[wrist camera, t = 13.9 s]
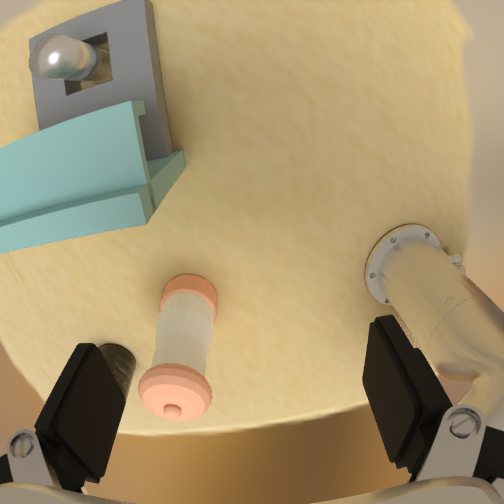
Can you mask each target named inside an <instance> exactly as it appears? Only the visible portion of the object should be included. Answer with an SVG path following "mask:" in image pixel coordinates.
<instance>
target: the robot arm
mask: <svg viewBox="0 0 504 504" xmlns="http://www.w3.org/2000/svg"><path fill="white" fill-rule="evenodd" d="M460 262H461V255H460V254H459V253H457V254H452V255H447V254H446V253H445V252H444V251H443V250H442V246H441V243H440V241H439V239H438V237H437V236H436V235H435V234H434V233H433V232H432V231H431V230H429V229H428V228H426V227H424V226H421V225H415V224H410V225H404V226H401V227H398V228H396V229H394V230H392V231H391V232H389V233H388V234H387V235H385V236H384V237H383V238H382V239H381V240H380V241H379V242H378V243H377V244H376V246H375V247H374V249H373V250H372V252H371V254H370V256H369V258H368V261H367V265H366V270H365V280H366V285H367V288H368V290H369V291H370V293H371V295H372V296H373V297H374V298H375V299H376V300H377V301H378V302H380V303H382V304H384V305H388V306H393V307H394V308H395V310H396V311H397V312H398V314H399V315H400V317H401V318H402V320H403V321H404V323H405V324H406V326H407V327H408V329H409V330H410V332H411V333H412V335H413V336H414V338H415V339H416V341H417V342H418V344H419V345H420V347H421V348H422V350H423V351H424V353H425V355H426V356H427V358H428V359H429V361H430V362H431V364H432V366H433V367H434V368H435V370H436V371H437V372H438V373H439V374H440V375H441V376H443V377H445V378H446V379H449V380H452V381H457V382H468V383H473V386H472V388H471V390H470V391H469V392H468V393H467V395H466V396H465V397H464V398H463V399H462V401H461V402H460V403H459V404H458V405H455V406H453V405H452V403H451V402H450V400H449V398H448V396H447V394H446V393H445V391H444V389H443V387H442V385H441V384H440V382H439V380H438V378H437V377H436V375H435V373H434V372H433V370H432V368H431V366H430V365H429V363H428V361H427V360H426V358H425V356H424V355H423V353H422V352H421V350H420V349H418V348H413V346H412V345H411V343H410V341H409V340H408V338H407V337H406V335H405V333H404V332H403V330H402V328H401V327H400V325H399V323H398V322H397V320H396V319H395V317H394V316H393V315H386V316H381V317H376V318H375V321H374V322H372V323H370V328H369V336H368V344H367V351H366V358H365V365H364V371H363V378H362V379H363V386H364V389H365V392H366V395H367V397H368V400H369V403H370V406H371V409H372V411H373V414H374V417H375V420H376V423H377V426H378V429H379V431H380V434H381V437H382V440H383V443H384V446H385V449H386V452H387V455H388V458H389V461H390V462H391V463H393V462H395V464H396V467H397V469H400V468H403V467H406V466H407V469H408V472H409V473H411V475H410V477H409V479H408V481H407V483H406V484H403V485H399V486H395V487H391V488H387V489H383V490H379V491H375V492H370V493H366V494H361V495H357V496H352V497H347V498H341V499H336V500H330V501H325V502H318V503H312V504H504V312H503V311H502V310H501V309H500V308H499V307H498V306H497V305H496V304H495V303H494V302H493V301H492V300H491V299H490V298H489V297H488V296H487V295H486V294H485V293H483V291H482V290H480V289H479V288H478V287H477V286H476V285H475V284H474V283H473V282H472V281H471V280H470V279H469V278H468V277H467V276H466V275H465V268H464V267H463V266H462V265H460V266H455V265H454V264H456V263H460ZM125 403H126V401H125V396H124V394H123V392H122V391H121V389H120V387H119V385H118V383H117V381H116V380H115V378H114V376H113V374H112V372H111V370H110V368H109V366H108V364H107V362H106V360H105V358H104V356H103V354H102V352H101V350H100V348H98V347H96V345H95V344H93V343H79V344H78V345H77V346H76V348H75V350H74V351H73V353H72V355H71V357H70V358H69V360H68V362H67V364H66V366H65V367H64V369H63V371H62V373H61V375H60V377H59V378H58V380H57V382H56V384H55V386H54V388H53V390H52V392H51V394H50V395H49V397H48V399H47V401H46V403H45V405H44V407H43V409H42V411H41V413H40V415H39V418H38V419H37V422H36V424H35V426H34V427H35V428H36V432H35V433H34V432H33V431H31V430H28V429H24V430H20V431H18V432H16V433H15V434H13V435H12V436H11V437H10V439H9V441H8V443H7V454H5V455H3V456H1V457H0V504H133V503H127V502H121V501H115V500H110V499H105V498H99V497H95V496H90V495H88V492H87V490H86V488H85V486H84V483H85V480H86V481H88V482H93V483H97V484H98V483H99V482H100V478H101V477H103V476H104V474H105V471H106V468H107V464H108V461H109V457H110V454H111V450H112V446H113V443H114V440H115V437H116V433H117V430H118V427H119V423H120V420H121V417H122V414H123V411H124V407H125Z"/></svg>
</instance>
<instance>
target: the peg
mask: <svg viewBox="0 0 504 504" xmlns="http://www.w3.org/2000/svg"><path fill="white" fill-rule="evenodd" d="M29 67H30V70H31V72H32V74H33V75H34V76H35V77H37V78H40V79H56V80H71V81H83V82H93V83H101V82H104V81H106V80H108V79H109V78H110V77H111V76H112V70H111V62H110V54H109V51H107V50H104V49H102V48H99V47H96V46H93V45H91V44H88V43H85V42H82V41H79V40H76V39H73V38H70V37H67V36H64V35H61V34H57V33H51V34H48V35H45V36H44V37H42V38H41V39H40V40H39V41H38V42H37V43H36V44H35V46H34V47H33V49H32V51H31V54H30V58H29Z"/></svg>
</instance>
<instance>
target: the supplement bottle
mask: <svg viewBox="0 0 504 504" xmlns="http://www.w3.org/2000/svg"><path fill="white" fill-rule="evenodd" d="M100 350H101V352H102V354H103V356H104V358H105V360H106V362H107V364H108V366H109V368H110V370H111V372H112V374H113V376H114V378H115V380H116V381H117V383H118V385H119V387H120V389H121V391H122V392H123V394H124V396H125V401H126V400H127V396H128V393H129V389H130V385H131V382H132V378H133V374H134V371H135V366H136V363H135V360H134V358H133V356H132V355H131V353H130V352H128V351H127V350H126V349H124V348H122V347H120V346H117V345H112V344H108V345H104V346H101V347H100Z"/></svg>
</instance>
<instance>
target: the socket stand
mask: <svg viewBox="0 0 504 504" xmlns="http://www.w3.org/2000/svg"><path fill="white" fill-rule="evenodd" d="M51 33H57V34H61V35H64V36H67V37H70V38H73V39H76V40H79V41H82V42H85V43H88V44H91V45H93V46H97V45H100V44H103V43H106V42H108V45H109V54H110V62H111V70H112V77H113V80H112V81H108V82H105V83H102V84H99V85H96V86H93V87H90V88H87V89H84V90H81V86H80V81H71V80H56V79H40V78H37V77H35V76H34V75H33V74H32V82H33V90H34V97H35V104H36V111H37V117H38V123H39V128H40V131H38V132H36V133H34V134H31V135H29V136H26V137H24V138H22V139H19V140H17V141H15V142H13V143H10V144H8V145H6V146H4V147H2V148H0V254H2V253H6V252H11V251H15V250H20V249H24V248H28V247H33V246H38V245H42V244H47V243H52V242H56V241H61V240H66V239H71V238H76V237H81V236H86V235H91V234H96V233H101V232H106V231H112V230H117V229H122V228H128V227H133V226H139V225H145V224H147V223H148V221H149V220H150V218H151V217H152V215H153V213H154V212H155V210H156V209H157V208H158V206H159V205H160V203H161V202H162V200H163V199H164V197H165V196H166V194H167V193H168V191H169V190H170V188H171V187H172V186H173V184H174V183H175V181H176V180H177V178H178V177H179V176H180V174H181V173H182V171H183V170H184V169H185V167H186V166H185V160H184V155H183V150H179V151H174V149H173V144H172V138H171V132H170V127H169V121H168V115H167V109H166V102H165V96H164V90H163V83H162V76H161V69H160V62H159V55H158V48H157V40H156V32H155V23H154V15H153V6H152V4H151V2H150V1H149V0H122V1H119V2H116V3H113V4H110V5H107V6H104V7H101V8H99V9H96V10H93V11H91V12H88V13H85V14H83V15H80V16H78V17H75V18H73V19H71V20H68V21H66V22H64V23H61V24H59V25H57V26H55V27H53V28H51V29H48V30H46V31H44V32H42V33H40V34H38V35H36V36H34V37H32V38H30V39H29V48H30V54H31V51H32V49H33V47H34V46H35V44H36V43H37V42H38V41H39V40H40V39H41V38H42V37H44V36H45V35H48V34H51ZM31 73H32V72H31Z"/></svg>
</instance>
